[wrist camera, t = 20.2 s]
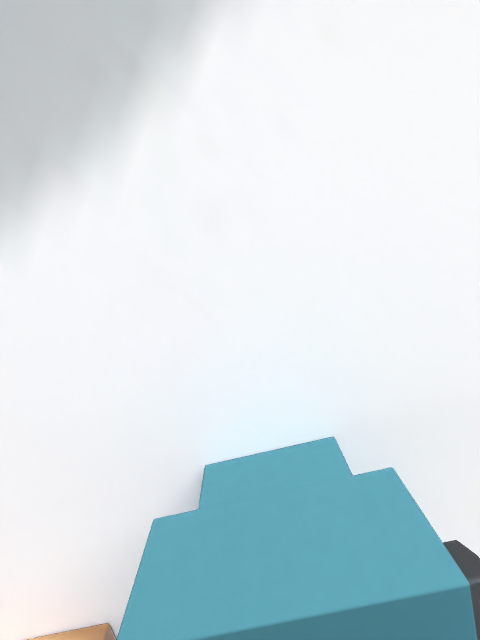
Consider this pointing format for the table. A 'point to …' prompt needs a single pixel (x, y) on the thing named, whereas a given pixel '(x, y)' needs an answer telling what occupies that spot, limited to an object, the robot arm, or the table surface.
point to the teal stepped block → (298, 558)
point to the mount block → (83, 634)
